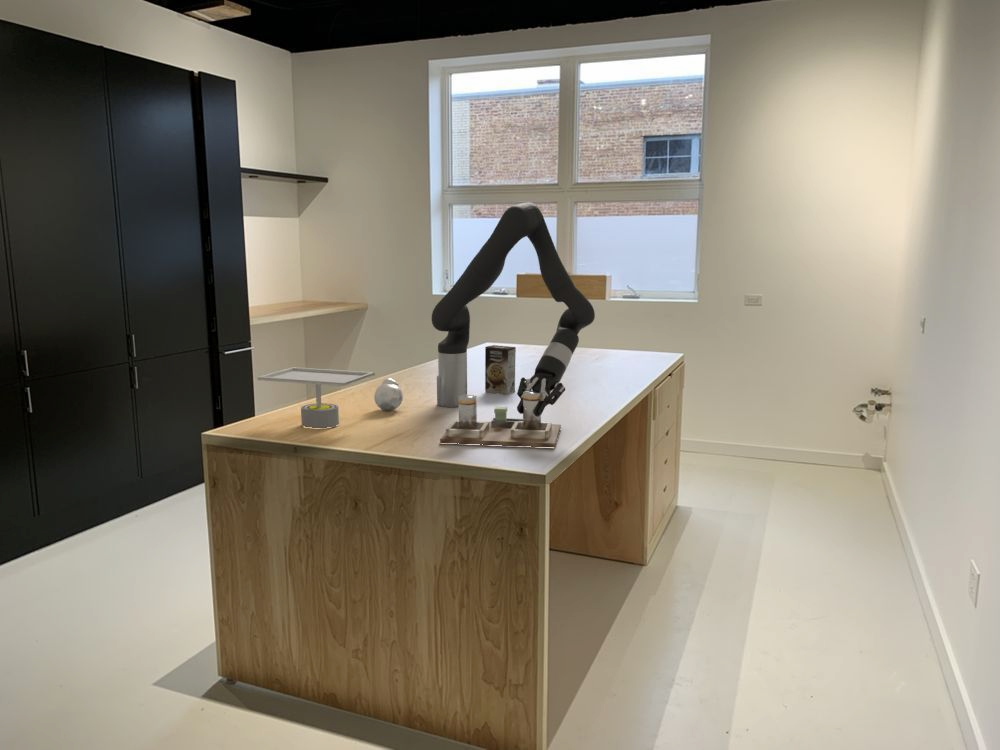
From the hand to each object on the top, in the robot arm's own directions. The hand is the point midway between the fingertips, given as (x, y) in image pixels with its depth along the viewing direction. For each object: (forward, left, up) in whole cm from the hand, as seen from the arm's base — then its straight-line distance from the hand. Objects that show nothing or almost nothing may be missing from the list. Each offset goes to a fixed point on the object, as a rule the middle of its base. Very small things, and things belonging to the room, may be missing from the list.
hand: (527, 413), depth 198 cm
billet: (+1, +2, -5) cm, 5 cm away
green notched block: (-9, +10, -6) cm, 14 cm away
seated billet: (-16, 0, -6) cm, 17 cm away
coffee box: (-17, +62, -8) cm, 64 cm away
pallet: (-7, +3, -7) cm, 11 cm away
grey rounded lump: (-47, +29, -8) cm, 56 cm away
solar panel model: (-61, +7, -8) cm, 62 cm away
